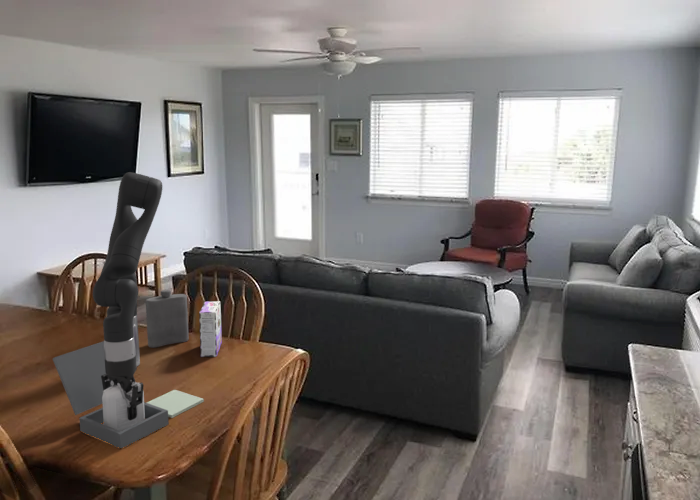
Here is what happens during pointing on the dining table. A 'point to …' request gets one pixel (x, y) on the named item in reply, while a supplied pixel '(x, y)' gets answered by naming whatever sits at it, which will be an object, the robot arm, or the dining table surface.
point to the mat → (176, 402)
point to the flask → (167, 319)
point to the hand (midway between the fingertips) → (124, 415)
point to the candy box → (210, 329)
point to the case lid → (82, 376)
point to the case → (120, 439)
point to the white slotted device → (119, 409)
